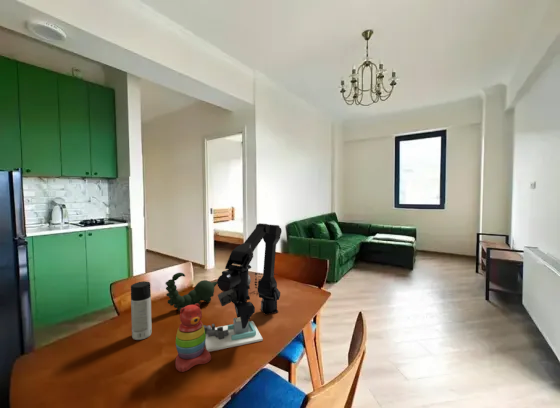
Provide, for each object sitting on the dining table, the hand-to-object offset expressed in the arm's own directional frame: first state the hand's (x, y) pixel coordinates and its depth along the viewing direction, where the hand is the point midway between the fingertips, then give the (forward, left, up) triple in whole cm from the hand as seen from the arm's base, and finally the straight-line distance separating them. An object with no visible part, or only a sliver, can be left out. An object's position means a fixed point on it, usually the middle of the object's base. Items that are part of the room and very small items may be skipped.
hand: (241, 322), depth 102 cm
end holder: (0, 0, -5) cm, 5 cm away
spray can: (+35, -12, -5) cm, 38 cm away
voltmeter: (-16, -43, -5) cm, 46 cm away
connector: (0, 0, -4) cm, 4 cm away
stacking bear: (+18, +9, -5) cm, 21 cm away
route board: (+3, 0, -5) cm, 6 cm away
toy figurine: (+15, -32, -5) cm, 36 cm away
